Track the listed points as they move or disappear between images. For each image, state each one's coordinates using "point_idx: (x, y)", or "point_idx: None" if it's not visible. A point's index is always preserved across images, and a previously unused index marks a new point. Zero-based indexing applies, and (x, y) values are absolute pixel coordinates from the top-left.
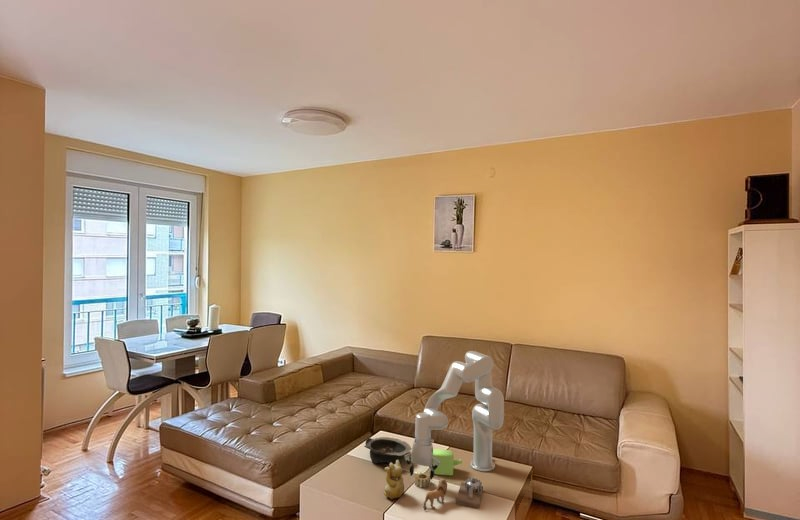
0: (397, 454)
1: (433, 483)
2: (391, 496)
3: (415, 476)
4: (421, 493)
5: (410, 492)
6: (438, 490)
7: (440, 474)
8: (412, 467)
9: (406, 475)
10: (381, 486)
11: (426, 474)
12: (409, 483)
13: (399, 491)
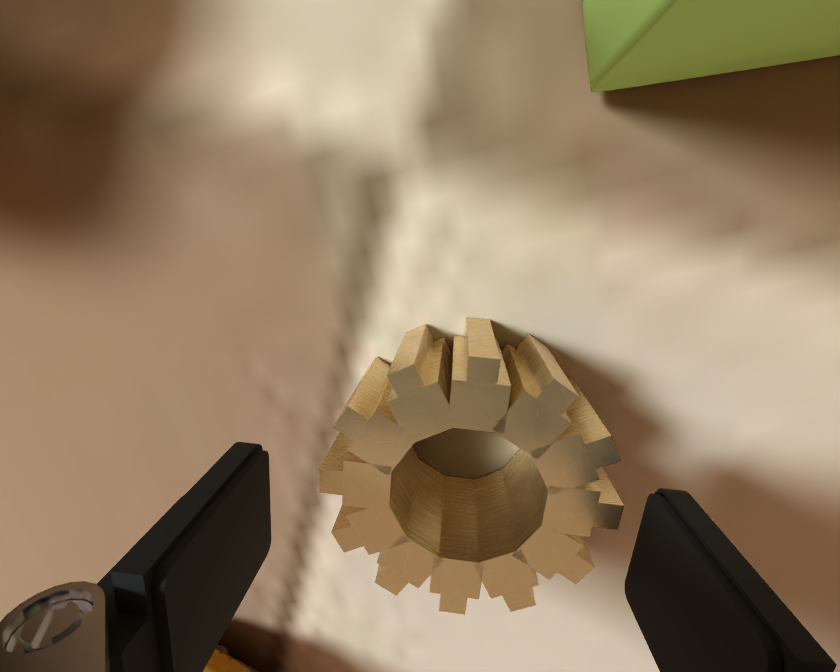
0: None
1: (630, 386)
2: None
3: (334, 480)
4: (485, 619)
5: (356, 618)
6: None
7: (784, 61)
8: (181, 668)
9: (173, 252)
10: (19, 561)
11: (534, 422)
12: (288, 451)
13: None
